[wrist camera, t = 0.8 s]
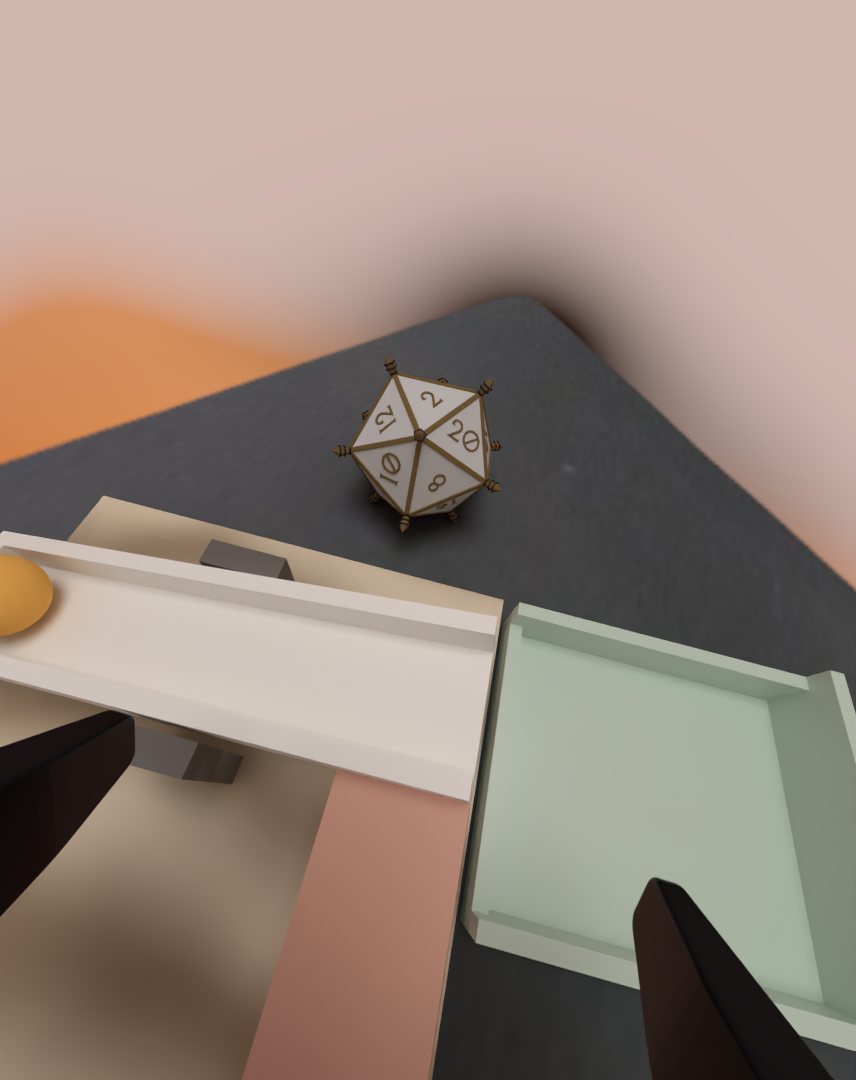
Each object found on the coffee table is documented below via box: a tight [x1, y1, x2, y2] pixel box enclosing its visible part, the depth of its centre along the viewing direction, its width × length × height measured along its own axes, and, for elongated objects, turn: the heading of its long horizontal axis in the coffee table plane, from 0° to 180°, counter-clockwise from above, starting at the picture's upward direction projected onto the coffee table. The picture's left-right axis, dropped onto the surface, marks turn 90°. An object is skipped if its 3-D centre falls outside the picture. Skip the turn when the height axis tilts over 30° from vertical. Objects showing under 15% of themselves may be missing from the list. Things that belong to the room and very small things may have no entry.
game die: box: [332, 355, 503, 532], centre depth 23 cm, size 9×8×10 cm
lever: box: [0, 531, 497, 1080], centre depth 12 cm, size 17×20×3 cm
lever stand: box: [0, 496, 504, 1080], centre depth 15 cm, size 21×22×6 cm
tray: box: [460, 602, 856, 1051], centre depth 17 cm, size 12×14×4 cm
